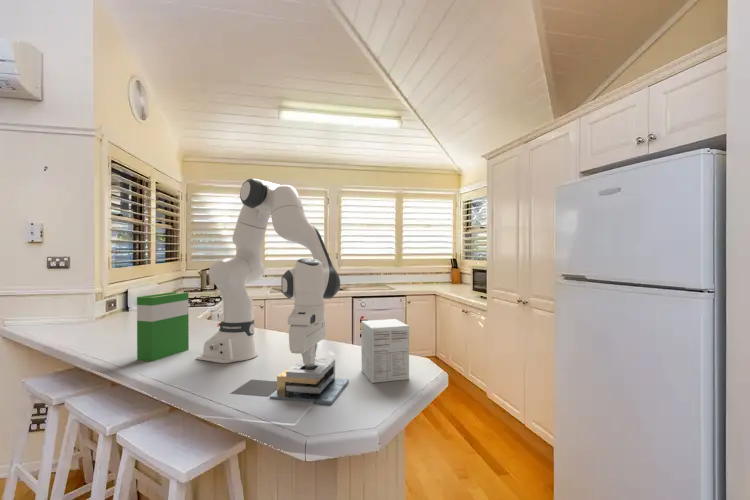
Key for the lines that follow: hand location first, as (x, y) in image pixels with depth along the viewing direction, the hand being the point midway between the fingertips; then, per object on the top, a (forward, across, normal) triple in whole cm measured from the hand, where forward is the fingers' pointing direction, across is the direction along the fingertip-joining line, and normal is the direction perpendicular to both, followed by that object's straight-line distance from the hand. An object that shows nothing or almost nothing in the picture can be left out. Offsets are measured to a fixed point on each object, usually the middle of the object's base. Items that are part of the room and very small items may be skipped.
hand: (309, 360), depth 112 cm
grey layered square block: (+9, -2, 0) cm, 10 cm away
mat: (+9, 0, -16) cm, 19 cm away
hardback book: (+10, -27, -72) cm, 78 cm away
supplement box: (+10, -20, +19) cm, 29 cm away
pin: (+7, 0, 0) cm, 7 cm away
